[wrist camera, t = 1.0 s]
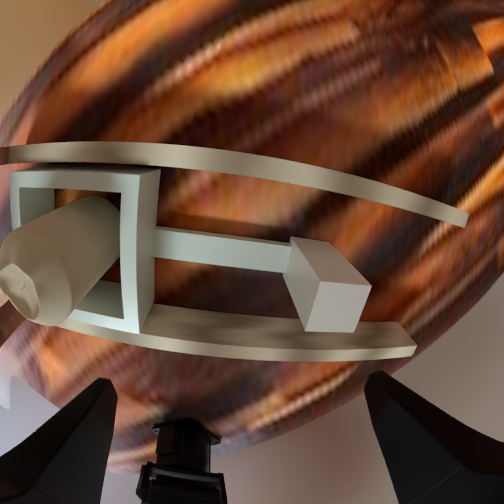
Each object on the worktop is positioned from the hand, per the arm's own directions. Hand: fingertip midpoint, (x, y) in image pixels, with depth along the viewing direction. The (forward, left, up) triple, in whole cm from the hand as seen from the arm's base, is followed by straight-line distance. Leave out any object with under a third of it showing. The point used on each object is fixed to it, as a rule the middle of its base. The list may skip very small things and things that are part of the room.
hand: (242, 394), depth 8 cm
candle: (+7, +8, -13) cm, 17 cm away
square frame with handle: (+3, +3, -12) cm, 13 cm away
